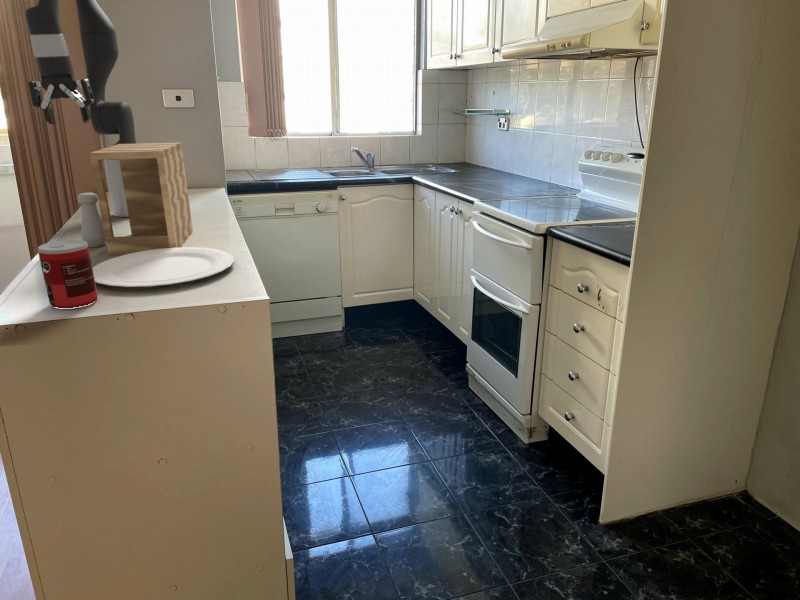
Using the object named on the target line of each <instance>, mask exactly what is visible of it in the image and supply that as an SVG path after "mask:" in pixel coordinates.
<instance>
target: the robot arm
mask: <svg viewBox="0 0 800 600" xmlns="http://www.w3.org/2000/svg"><path fill="white" fill-rule="evenodd" d="M59 2H60V0H38V3H37V5H35V6H32V7H28V8H27V9H25V13H24V14H25V20H26V22H27V23H26V24H27V26H28V27H27V28H28V31H29V34H30V40H31V47H32V50H33V51H32V52H33V55H34V58H35V61H36V66H37V70H38V72H39V76H40V81H37V80H31V81H28V84H27V85H28V88H29V92H30V93H29V94H30V96H31V97H30V98H31V102H32V105H33V107H34V108H35V107H37V108H40V109H42V112H43V115H44V119H45V121H46V123H48V124H49V125H54V124H56V120H55V116H54V113H53V109H52V107H51V105H52V103H53V101H55V100H56V99H71V100H72V101H74V102H75V103H76V104H77V105H78V106H80V107H79V109H80V114H81V119H82V122H83V123H85V124H86V123H89V122H90V123H91V126H92V128H93V130H94V132H96V134H98V135H103V136H105V135H118V136H119V139H118V141H117V142H115V143H114V144H112V145H110V146H108V147H111V146H114V145H117V144H137V140H136V133H135V121H134V115H133V114H134V113H133V111H132V107H131V106H130V104H128V103H127V102H125V101H106V85H107V82H108V79H109V77H110V75H111V73H112V71H113V69H114V67H115V65H116V63H117V60H118V57H119V46H118V38H117V31H116V29H115V26H114V24H113V22H112V21H111V20H110V18H109V17H108V16H107V14H106V13H105V11H104V10H103V8H102V7H101V6H100V4H99V3H98V2H97V0H75V4H76V5H75V6H76V8H77V9H76V10H77V11H76V12H77V16H78V23H79V24H78V25H79V33H80V40H81V46H82V53H83V58H84V59H83V60H84V65H85V71H86V76H87V77H86V78H81V79H76V77H75V72H74V69H73V64H72V61H71V56H70V52H69V48H68V44H67V42H66V41H67V40H66V39H65V36H64V32H63V29H62V28H63V27H62V25H61V21H60V14H59V13H60V12H59V10H60V9H59V7H60V6H59V5H60V4H59ZM78 86H79V88H80V89H82V91H83V95H82V94H81V93H80V92H78V90H77V88H78ZM42 88H43V90H45V94H44V96H43V98H42V95H41V90H42ZM83 96H84V97H83ZM42 99H43V100H42ZM103 160H104V167H105V171H106V177H107V182H108V188H109V194H110V200H111V206H112V207H111V208H112V212H113V216H114V217H117V218H129V216H128V210H127V204H126V198H125V192H124V186H123V180H122V174H121V168H120V162H119V159H103Z"/></svg>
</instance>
